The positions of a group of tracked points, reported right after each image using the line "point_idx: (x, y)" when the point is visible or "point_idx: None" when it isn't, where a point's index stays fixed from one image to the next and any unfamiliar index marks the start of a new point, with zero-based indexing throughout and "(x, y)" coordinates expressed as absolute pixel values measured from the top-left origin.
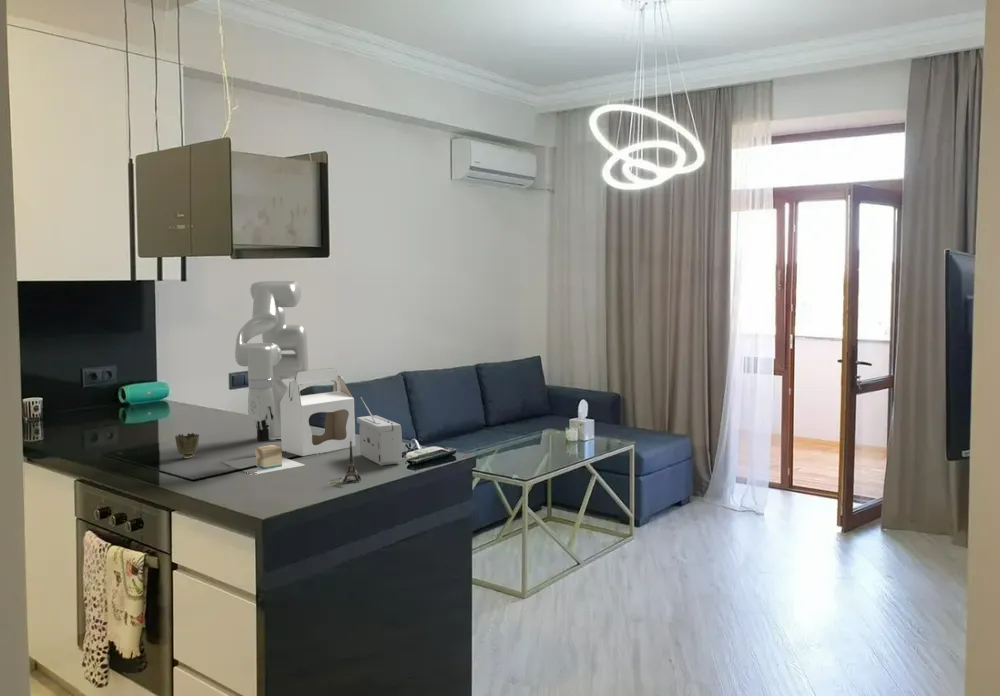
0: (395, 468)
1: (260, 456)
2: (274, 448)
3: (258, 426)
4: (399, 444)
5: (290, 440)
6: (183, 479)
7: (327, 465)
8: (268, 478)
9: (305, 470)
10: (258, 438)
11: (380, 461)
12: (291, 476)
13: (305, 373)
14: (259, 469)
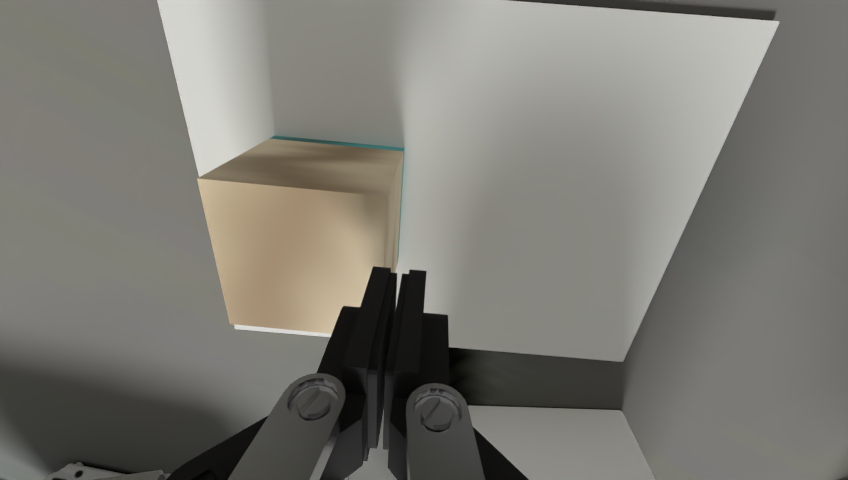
0: (15, 464)
1: (295, 163)
2: (227, 279)
3: (407, 426)
4: None
5: (552, 476)
6: None
7: (191, 378)
8: (21, 26)
9: (141, 280)
10: (401, 288)
11: (50, 477)
12: (24, 163)
13: None
14: (290, 111)
